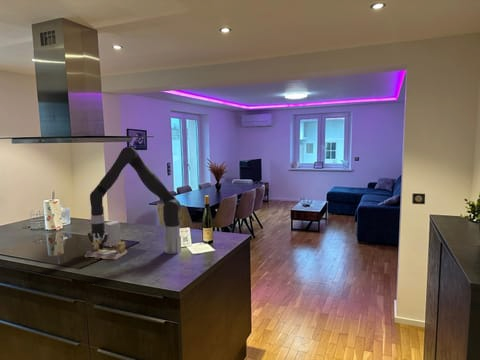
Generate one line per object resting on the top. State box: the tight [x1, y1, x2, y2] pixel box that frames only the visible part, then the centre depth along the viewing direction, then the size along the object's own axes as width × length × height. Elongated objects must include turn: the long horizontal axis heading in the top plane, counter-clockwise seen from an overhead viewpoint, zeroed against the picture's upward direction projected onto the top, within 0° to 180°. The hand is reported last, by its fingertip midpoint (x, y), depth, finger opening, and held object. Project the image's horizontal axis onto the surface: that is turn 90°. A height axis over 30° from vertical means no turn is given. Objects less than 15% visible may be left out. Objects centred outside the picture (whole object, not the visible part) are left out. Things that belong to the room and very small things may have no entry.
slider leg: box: [91, 239, 103, 251], centre depth 193 cm, size 3×8×6 cm, turn 170°
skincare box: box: [104, 220, 122, 248], centre depth 210 cm, size 8×7×16 cm
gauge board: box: [84, 241, 128, 260], centre depth 192 cm, size 20×13×8 cm, turn 80°
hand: (98, 248), depth 195 cm, fingers closed on slider leg, 3 cm apart
